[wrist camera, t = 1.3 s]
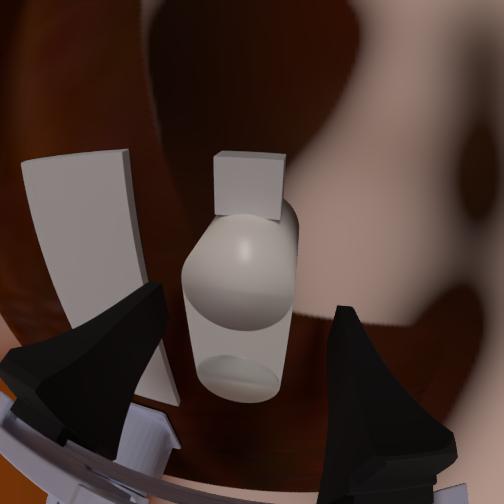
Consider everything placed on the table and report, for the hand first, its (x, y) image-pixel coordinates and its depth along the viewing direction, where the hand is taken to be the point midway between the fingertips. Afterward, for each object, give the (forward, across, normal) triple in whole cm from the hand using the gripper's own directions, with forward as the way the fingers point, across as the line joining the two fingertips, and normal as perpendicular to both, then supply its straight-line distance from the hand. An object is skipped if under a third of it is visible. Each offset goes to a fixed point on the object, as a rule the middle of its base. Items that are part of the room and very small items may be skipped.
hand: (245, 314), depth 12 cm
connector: (+3, 0, 0) cm, 3 cm away
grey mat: (+3, +10, +4) cm, 11 cm away
